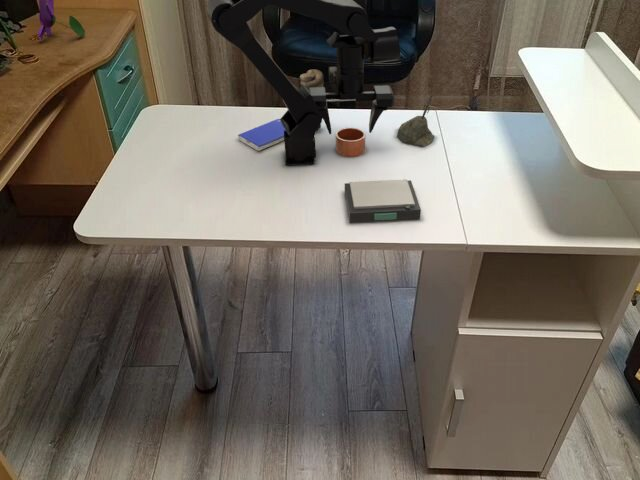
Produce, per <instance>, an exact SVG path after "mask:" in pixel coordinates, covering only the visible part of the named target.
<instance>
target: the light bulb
mask: <svg viewBox="0 0 640 480" xmlns="http://www.w3.org/2000/svg"><path fill="white" fill-rule="evenodd" d="M299 75H300V76H299V80H300V85H301V86H302V85H304V86H305V87H306V89H307V90H308V89H309V88H313V87H324V84H325V81H324V79H325V76H324V73H323V72H322V71H321V70H319V69H313V68H312V69H309V70H307V71H306V73H302V74H299ZM321 126H322V123H321V124H320V126H319V127H318V128H317V130H316V132H317V131H319V129H321Z"/></svg>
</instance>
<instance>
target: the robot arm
mask: <svg viewBox="0 0 640 480" xmlns="http://www.w3.org/2000/svg"><path fill="white" fill-rule="evenodd" d="M267 6H271V7H275V8H278V9H281V10H285V11H288V12H291V13H295V14H298V15H301V16H304V17H309V18H312V19H315V20H318V21H321V22H323V23H326V24H327V25H328V26H330V27H332V28H334V29H335V30H337V31H339V32H341V33H343V34H344V35H343V34H341V35H340V34H338V32H336V31H334V32H333V34H332V35H331V36H329V38H327V39H326V43H327V44H328V45H329V46H330V47H331V48H332V49H336V66H328V81H329V83H333V82H335V89H336V92H326V87H325V86H323V87H313V88H309V89H308V90H307V89H306V87H305V86H304V85H301V86H300V87H299V88H298V87H297V86H296V85H294V84H293V83H292V82H291V80H290V79H289V78H288V77H287V75H286V74H285V73H284V72H283V70H282V69H281V68H280V67H279V65H278V64H277V63H276V62H275V61H274V59H273V58H272V57H271V55H270V54H269V52H268V51H266V49H265V47H264V46H263V45H262V44H261V42H259V40H258V39H257V38H256V37H255V35H254V33H253V32H252V30H251V27H250V26H249V24H248V22H250V21H251V20H252V19H253V18H254V17H256V15H258V13H259V12H261V11H262V10H263V9H264V8H266V7H267ZM205 9H206V10H205V11H206V14H207V17H208V20H209V21H210V23H211V25H212V27H213V28H214V30H215V32H217V33H218V34H219V35H220V36H222V37H223V38H224V39H225V40H226V41H228V42H229V43H230V44H231V45H233V46H234V47H236V48H237V49H238V50H240V51H241V52H242V53H243V55H244V56H245V57H246V59H248V61H249V62H250V63H251V65H253V67H254V68H255V69H256V70H257V71H258V72H259V74H260V75H261V76H262V77H263V78H264V79H265V81H266V82H267V83H268V84H269V86H270V87H271V88H272V89H273V90H274V91H275V92H276V94H277V95H278V96H279V98H281V100H282V102H283V103H284V105H285V107H286V109H287V111H285V112H284V114H283V115H282V116H281V117H280V118H279V119H280V121H281V123H282V125H283V127H284V128H285V131H284V141H283V142H284V143H283V144H284V165H285V166H302V165H303V166H304V165H314V164H315V159H316V158H317V149H316V146H317V145H316V137H315V136H316V134H317V133H316V132H317V131H318V130H317V128H318V127H319V126H320V124H321V125H322V123H323V122H324V124H325V127H326V129H327V131H328V134H329V135H332V126H331V120H330V113H329V107H328V103H336V102H337V103H338V102H339V103H341V102H342V103H343V102H371V105H370V106H371V108H370V115H369V122H368V133H369V134H372V132H373V130H374V128H375V126H376V124H377V121H378V120H379V118H380V117H381V115H382V113H383V112H385V111H386V112H387V111H388V108H393V107H394V106H395V95H394V93H393V89H392V87H391V86H390V85H387V84H386V85H385V84H384V85H373V87H372V91H364V86H365V85H364V81H365V80H364V78H365V59H366V60H368V61H369V62H370V63H371V64H373V65H374V64H381V63H388V62H396V61H398V60H399V59H400V56H401V50H402V49H401V47H400V40H399V37H398V29H396V27H394V26H388V27H387V26H386V27H384V28H376V29H373V28H372V27H371V25H370V23H369V15H368V13H367V11H366V10H365V8H363V7H362V6H361V5H360V4H358V3H357V2H356V1H355V0H208V1H207V4H206V8H205ZM316 130H317V131H316Z"/></svg>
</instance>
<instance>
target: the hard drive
mask: <svg viewBox="0 0 640 480" xmlns="http://www.w3.org/2000/svg"><path fill="white" fill-rule="evenodd" d="M280 119H281V118H276V119H274V120H271V121H269V122H266V123H264V124H261V125H259V126H256V127H254V128H251V129H249V130H246V131H243V132H241V133H239V134H237V139H238V141H240V142H242V143H243V144H246V145H247V146H249V147H251V148H252V149H254V150H256V151H257V152H260V151H262V150H264V149H267V148H270V147H271V146H275V145H277V144H279V143H281V142H284V131H285V128H284V127H283V125H282V123H281V121H280Z"/></svg>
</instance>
